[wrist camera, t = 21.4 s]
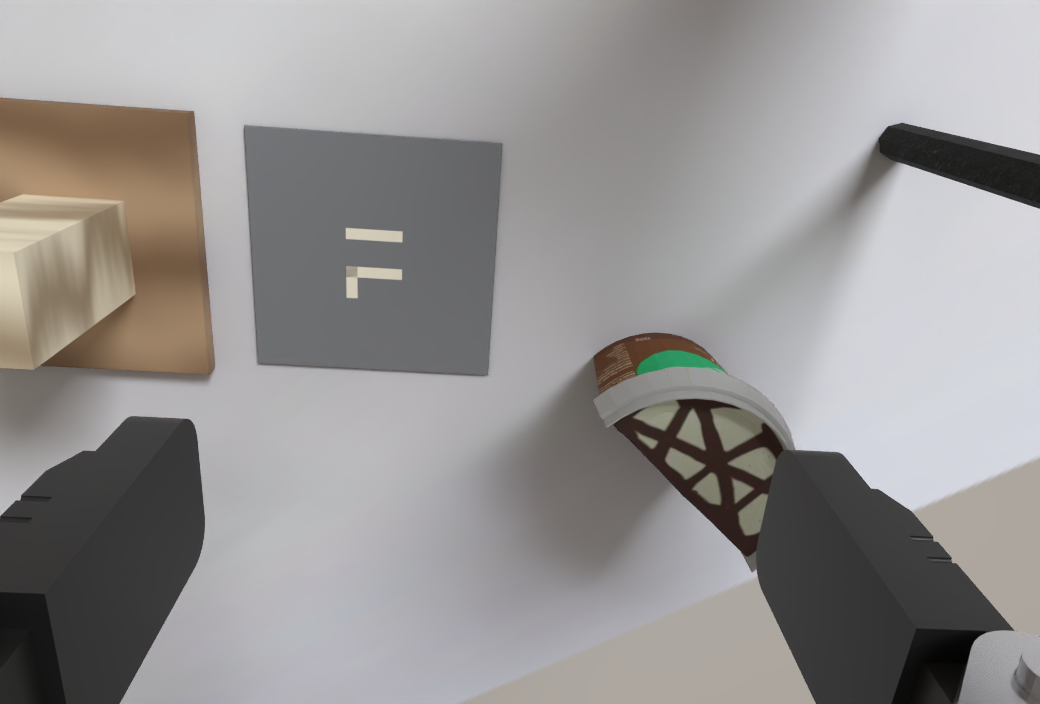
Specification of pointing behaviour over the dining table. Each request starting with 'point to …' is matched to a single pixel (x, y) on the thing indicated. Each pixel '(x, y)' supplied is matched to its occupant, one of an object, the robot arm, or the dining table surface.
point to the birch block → (58, 272)
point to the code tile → (372, 249)
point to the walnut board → (150, 218)
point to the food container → (695, 428)
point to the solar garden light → (966, 161)
